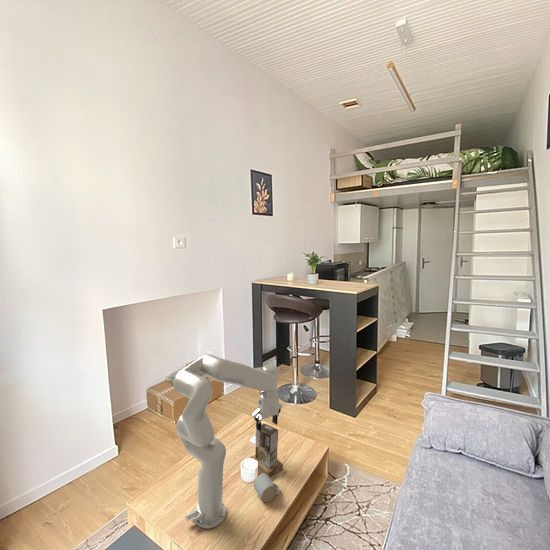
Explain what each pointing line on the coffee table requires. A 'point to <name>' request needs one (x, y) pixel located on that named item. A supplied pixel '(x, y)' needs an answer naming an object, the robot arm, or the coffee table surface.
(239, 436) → the coffee table surface
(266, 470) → the walnut tray
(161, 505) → the coffee table surface
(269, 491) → the ceramic mug
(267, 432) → the coffee box
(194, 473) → the coffee table surface
